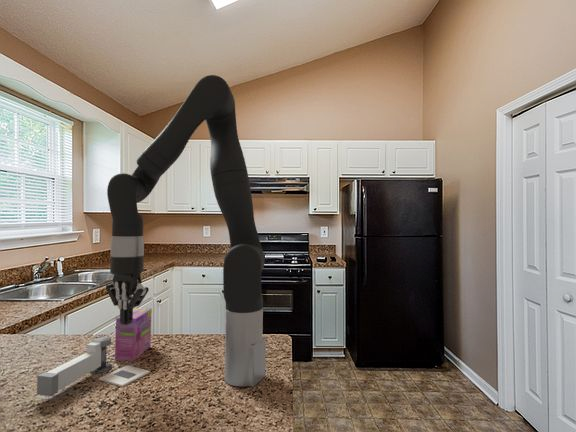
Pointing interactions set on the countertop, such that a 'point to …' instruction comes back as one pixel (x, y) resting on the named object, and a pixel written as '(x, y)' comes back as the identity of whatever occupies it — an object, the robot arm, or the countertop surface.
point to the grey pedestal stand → (103, 362)
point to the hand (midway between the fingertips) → (126, 323)
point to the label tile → (124, 375)
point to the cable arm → (72, 369)
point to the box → (133, 335)
